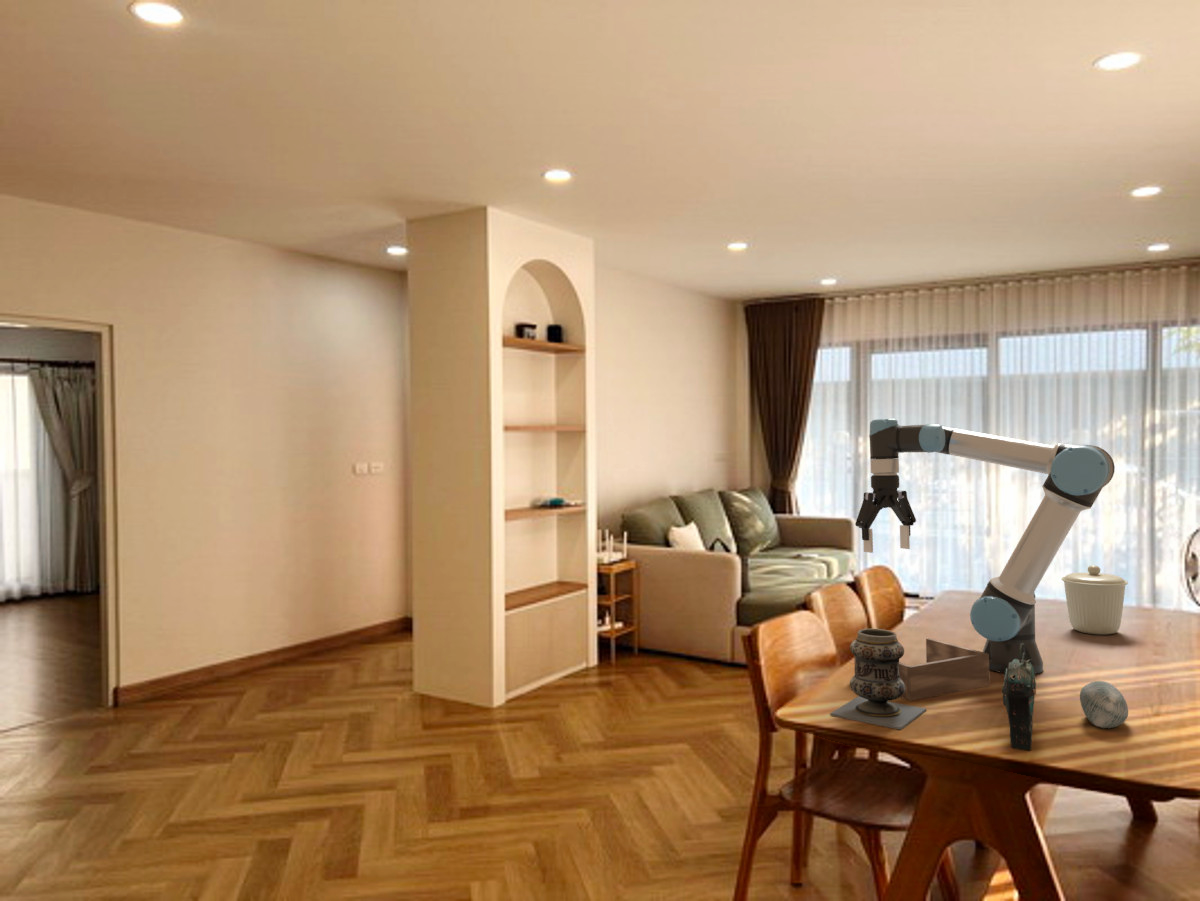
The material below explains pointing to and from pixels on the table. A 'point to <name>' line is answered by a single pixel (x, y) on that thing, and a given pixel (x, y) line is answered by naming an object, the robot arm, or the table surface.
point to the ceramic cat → (1020, 700)
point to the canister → (1094, 601)
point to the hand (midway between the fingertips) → (886, 550)
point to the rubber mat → (894, 722)
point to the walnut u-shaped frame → (944, 671)
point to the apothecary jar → (877, 672)
